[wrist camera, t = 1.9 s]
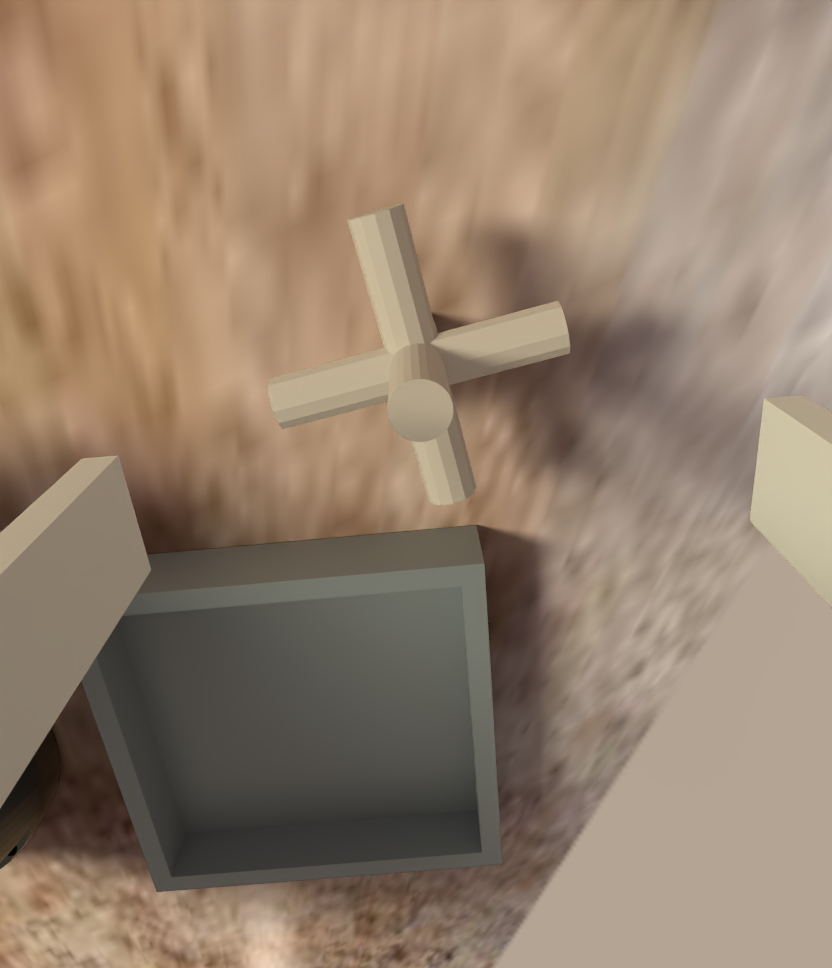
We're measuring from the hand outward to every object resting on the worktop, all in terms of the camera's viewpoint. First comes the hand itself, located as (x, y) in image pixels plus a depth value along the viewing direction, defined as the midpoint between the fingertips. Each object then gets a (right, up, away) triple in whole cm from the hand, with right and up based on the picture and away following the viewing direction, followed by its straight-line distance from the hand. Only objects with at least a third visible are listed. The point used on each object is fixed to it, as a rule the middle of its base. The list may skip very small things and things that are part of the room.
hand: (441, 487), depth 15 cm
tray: (-6, -11, +21) cm, 25 cm away
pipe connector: (-1, +6, +14) cm, 15 cm away
